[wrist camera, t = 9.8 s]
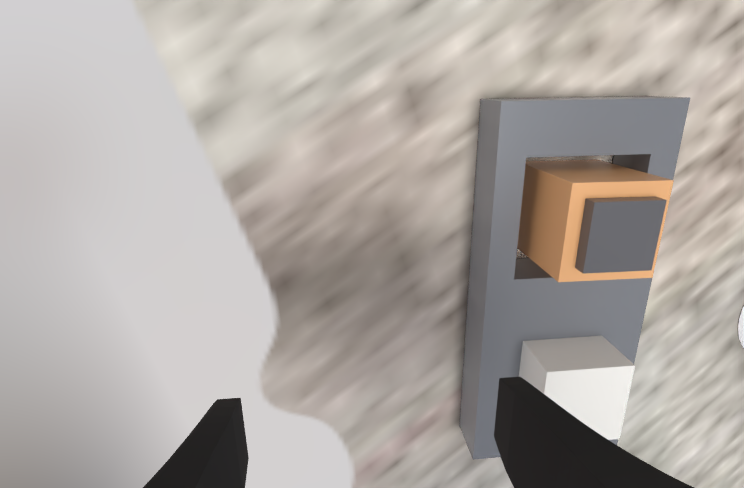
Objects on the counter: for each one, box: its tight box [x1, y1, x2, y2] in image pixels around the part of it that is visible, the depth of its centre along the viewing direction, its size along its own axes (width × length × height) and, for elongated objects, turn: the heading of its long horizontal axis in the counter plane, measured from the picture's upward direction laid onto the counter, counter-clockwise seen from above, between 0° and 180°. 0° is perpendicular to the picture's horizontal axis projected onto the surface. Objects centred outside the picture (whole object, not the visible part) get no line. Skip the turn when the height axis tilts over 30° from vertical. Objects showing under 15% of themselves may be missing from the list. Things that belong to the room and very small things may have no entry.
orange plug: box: [517, 160, 674, 282], centre depth 20 cm, size 4×4×6 cm
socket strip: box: [460, 96, 690, 459], centre depth 22 cm, size 20×8×5 cm, turn 1°
